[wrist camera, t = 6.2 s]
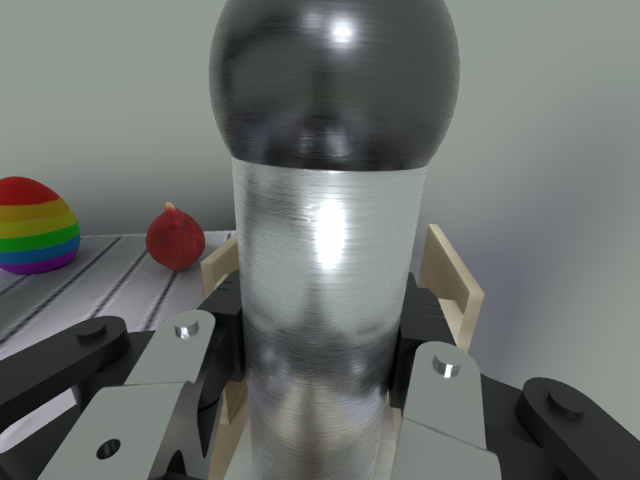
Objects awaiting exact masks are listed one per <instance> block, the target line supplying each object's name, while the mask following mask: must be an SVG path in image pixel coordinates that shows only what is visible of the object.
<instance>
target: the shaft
mask: <svg viewBox="0 0 640 480" xmlns="http://www.w3.org/2000/svg"><path fill="white" fill-rule="evenodd" d="M459 80H460V58H459V50H458V42H457V37H456V33H455V30H454V26H453V22H452V19H451V15H450V13H449V11H448V8H447V6H446V4H445V2H444V0H227V2H226V4H225V6H224V8H223V10H222V12H221V15H220V18H219V20H218V23H217V25H216V28H215V32H214V37H213V41H212V45H211V51H210V60H209V90H210V97H211V103H212V109H213V112H214V116H215V120H216V123H217V126H218V129H219V131H220V133H221V136H222V138H223V141H224V143H225V145H226V147H227V148H228V150H229V152H230V154H231V156H232V170H233V185H234V199H235V214H236V229H237V243H238V258H239V273H240V288H241V302H242V317H243V332H244V346H245V361H246V376H247V390H248V405H249V418H248V421H247V423H246V426H245V428H244V431H243V433H242V436H241V438H240V441H239V443H238V445H237V448H236V450H235V453H234V455H233V458H232V460H231V463H230V465H229V467H228V470H227V472H226V475H225V477H224V480H390V475H391V470H392V466H393V461H394V456H395V451H396V440H395V428H394V416H393V408H392V407H390V405H389V391H388V388H389V382H390V377H391V371H392V365H393V359H394V353H395V348H396V342H397V336H398V330H399V324H400V319H401V313H402V307H403V301H404V296H405V290H406V284H407V278H408V272H409V266H410V261H411V255H412V249H413V243H414V238H415V232H416V226H417V220H418V214H419V209H420V203H421V197H422V191H423V186H424V180H425V174H426V168H427V164H428V163H429V162H430V160H431V159H432V157H433V156H434V155H435V153H436V152H437V150H438V148H439V146H440V144H441V142H442V141H443V139H444V137H445V135H446V132H447V130H448V127H449V125H450V122H451V120H452V117H453V113H454V109H455V105H456V101H457V96H458V95H457V94H458V87H459Z"/></svg>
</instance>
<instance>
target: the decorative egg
mask: <svg viewBox="0 0 640 480" xmlns="http://www.w3.org/2000/svg"><path fill="white" fill-rule="evenodd" d="M79 244H80V229H79V225H78V222H77V220H76V218H75V216H74V214H73V212H72V211H71V209H70V208H69V206H68V205H67V204H66V203H65V201H64V200H63V199H62V198H61V197H60V196H59V195H57V194H56V193H55V192H53V191H52V190H51V189H49V188H48V187H46V186H45V185H43V184H41V183H39V182H37V181H35V180H32V179H29V178H24V177H7V178H4V179H1V180H0V268H2V269H4V270H6V271H8V272H11V273H14V274H34V273H41V272H46V271H49V270H53V269H56V268H59V267H61V266H63V265H65V264H67V263H69V262H70V261H71V260H72V259H73V258H74V256H75V255H76V253H77V250H78V248H79Z"/></svg>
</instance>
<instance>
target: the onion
mask: <svg viewBox="0 0 640 480" xmlns="http://www.w3.org/2000/svg"><path fill="white" fill-rule="evenodd" d="M165 206H166V207H165V212H164V213H163V214H161V215H160V216H158V217H157V218H156V219H155V220H154V221H153V223H152V224H151V225H150V227H149V229H148V233H147V237H146V247H147V250H148V252H149V254H150V255H151V256H152V257H153V258H154V259H155V260H156V261H157V262H158V263H160V264H162V265H164V266H166V267H168V268H170V269H173V270H175V271H178V272H180V271H183V270H185V269H186V268H187V267H189V266H190V265H192V264H193V263H194V262H195V261H196V260H197V259H198V258H199V257H200V256H201V255H202V253H203V251H204V248H205V238H204V233H203V231H202V229H201V227H200V226H199V225H198V223H197V222H195V220H193V218H192V217H191V216H190V215H188V214H186V213H184V212H182V211H180V210H179V209H177V208H176V207H174V206H173V204H172V203H166V204H165Z"/></svg>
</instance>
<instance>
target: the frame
mask: <svg viewBox="0 0 640 480" xmlns="http://www.w3.org/2000/svg"><path fill="white" fill-rule="evenodd" d="M200 263H201V272H202V280H203V288H204V296H205V300H206V299H207V298H208V296H209V295H210V294H211V293H212V292H213V291H214V290H216V288H217V287H218V286H219V285H220V283H222V282H223V280H224V279H225V278H226V277H227V276H228V275H229V274H230V273H232V272H234V271H235V270H237V269H239V258H238V243H237V233H236V234H234V235H233V236H232V237H231V238H230V239H228V240H227V241H226V242H225V243H223V244H222V245H221V246H220V247H219V248H217V249H216V250H215V251H214V252H213V253H211V254H210V255H209V256H208V257H206V258H205V259H204V260H203V261H202V262H200ZM417 287H420V288H428V289H429V290H430V291H431V292H432V293H433V294H434V295H435V296H436V297H437V298H438V300H439V303H440V305H441V309H442V310H443V313H444V315H445V318H446V320H447V323H448V325H449V328H450V330H451V333H452V335H453V338H454V340H455V343H456V345H457V347H458V348H460V349H462V350H463V351H465V352H466V353H468V349H469V346H470V342H471V339H472V336H473V332H474V329H475V325H476V322H477V318H478V315H479V311H480V308H481V305H482V301H483V298H484V293H483V291H482V290H481V288H480V287H479V285H478V284H477V282H476V281H475V280H474V278H473V277H472V275H471V274H470V272H469V271H468V269H467V268H466V266H465V265H464V263H463V262H462V260H461V259H460V257H459V256H458V255H457V253H456V252H455V250H454V249H453V247H452V246H451V244H450V243H449V241H448V240H447V238H446V237H445V235H444V234H443V233H442V231H441V230H440V228H439V227H438V225H434V224H429V226H428V231H427V236H426V242H425V247H424V252H423V258H422V263H421V268H420V273H419V279H418V284H417ZM223 396H224V400H223V406H222V410H221V415H220V425H219V427H218V429H217V434H216V439H215V443H214V448H213V453H212V458H211V462H210V468H209V475H208V480H224V477H225V475H226V472H227V470H228V467H229V465H230V463H231V460H232V458H233V455H234V453H235V450H236V448H237V445H238V443H239V441H240V438H241V436H242V433H243V431H244V428H245V426H246V423H247V421H248V418H249V405H248V390H247V376H246V374H245V376H244V378H243V380H242V382H235V381H228V382H227V384H226V386H225V388H224V390H223ZM393 416H394V428H395V440H396V446H397V441H398V436H399V431H400V426H401V421H402V418H401V409H398V408H393Z"/></svg>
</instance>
